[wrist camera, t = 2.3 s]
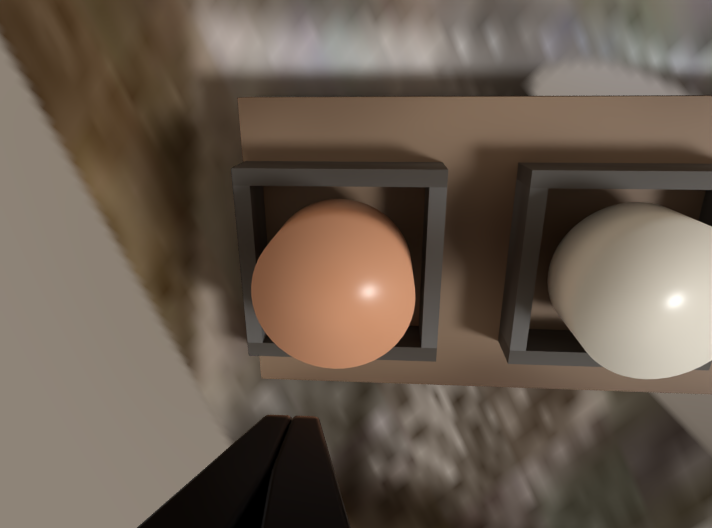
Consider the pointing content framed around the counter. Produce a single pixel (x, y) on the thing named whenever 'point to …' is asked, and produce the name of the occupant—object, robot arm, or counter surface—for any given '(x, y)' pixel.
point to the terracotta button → (335, 285)
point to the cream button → (637, 289)
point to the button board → (472, 216)
